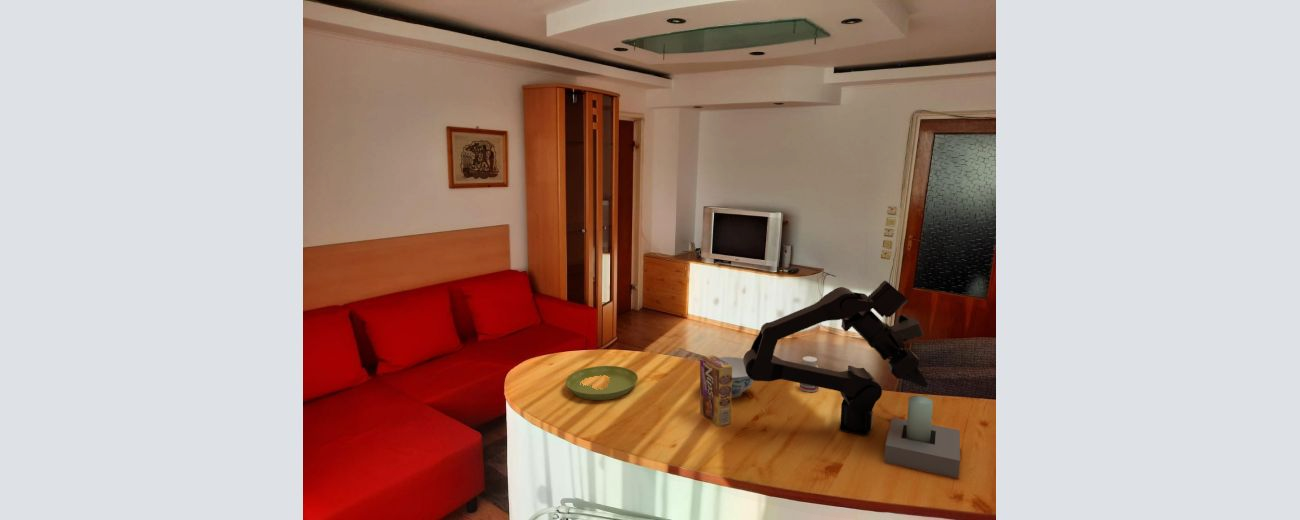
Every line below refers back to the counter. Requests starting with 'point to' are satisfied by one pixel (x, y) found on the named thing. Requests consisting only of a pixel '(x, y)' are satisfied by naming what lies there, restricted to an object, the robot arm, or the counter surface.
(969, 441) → the counter surface
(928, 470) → the socket block
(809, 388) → the pill bottle
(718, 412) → the candy box
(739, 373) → the chinaware
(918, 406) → the teal peg
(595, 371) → the saucer
